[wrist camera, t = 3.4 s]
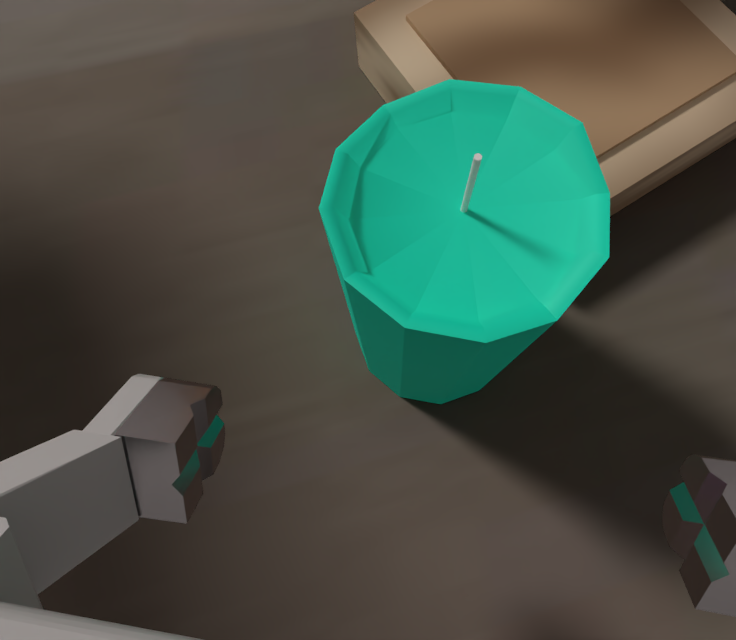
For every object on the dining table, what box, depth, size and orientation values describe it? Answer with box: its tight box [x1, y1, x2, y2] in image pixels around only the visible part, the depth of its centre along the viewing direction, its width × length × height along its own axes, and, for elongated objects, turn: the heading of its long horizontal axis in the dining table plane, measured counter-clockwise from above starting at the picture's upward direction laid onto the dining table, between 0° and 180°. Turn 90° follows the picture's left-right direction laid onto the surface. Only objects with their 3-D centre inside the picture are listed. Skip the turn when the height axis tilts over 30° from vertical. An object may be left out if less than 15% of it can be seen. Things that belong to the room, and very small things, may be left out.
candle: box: [319, 79, 610, 404], centre depth 15 cm, size 6×6×12 cm
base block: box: [354, 0, 736, 216], centre depth 22 cm, size 12×12×3 cm
